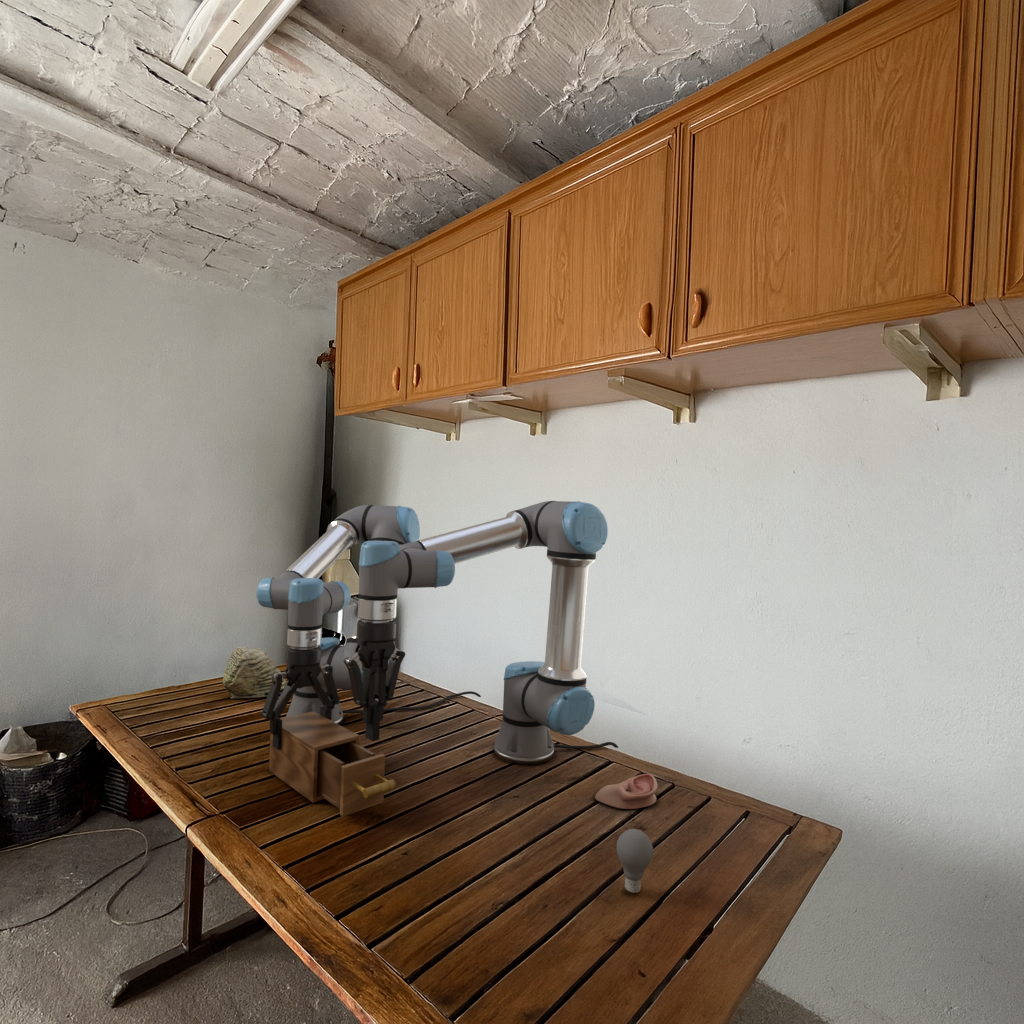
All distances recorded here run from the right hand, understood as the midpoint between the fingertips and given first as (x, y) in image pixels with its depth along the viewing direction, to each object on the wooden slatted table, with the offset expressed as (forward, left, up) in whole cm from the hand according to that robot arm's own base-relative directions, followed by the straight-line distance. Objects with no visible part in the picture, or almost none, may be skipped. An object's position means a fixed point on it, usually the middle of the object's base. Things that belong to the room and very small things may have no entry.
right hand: (372, 738), depth 125 cm
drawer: (+3, -8, -15) cm, 17 cm away
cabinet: (+9, -21, -16) cm, 28 cm away
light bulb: (-37, +37, -16) cm, 55 cm away
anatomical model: (-55, +8, -16) cm, 58 cm away
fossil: (+20, -87, -16) cm, 91 cm away
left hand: (+11, -27, -10) cm, 31 cm away
